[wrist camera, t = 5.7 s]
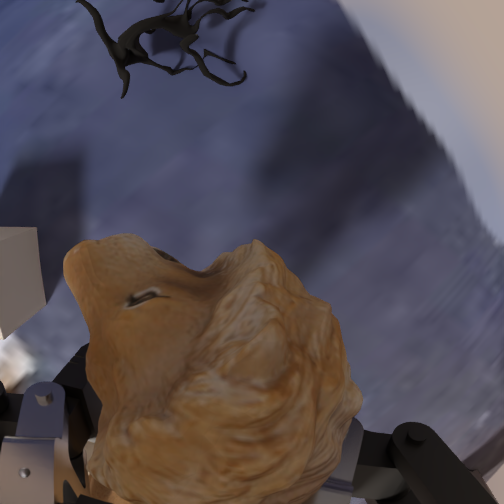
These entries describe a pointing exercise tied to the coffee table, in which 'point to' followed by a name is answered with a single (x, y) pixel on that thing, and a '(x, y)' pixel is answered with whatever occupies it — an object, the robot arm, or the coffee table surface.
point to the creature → (131, 35)
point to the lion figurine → (209, 376)
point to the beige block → (19, 278)
